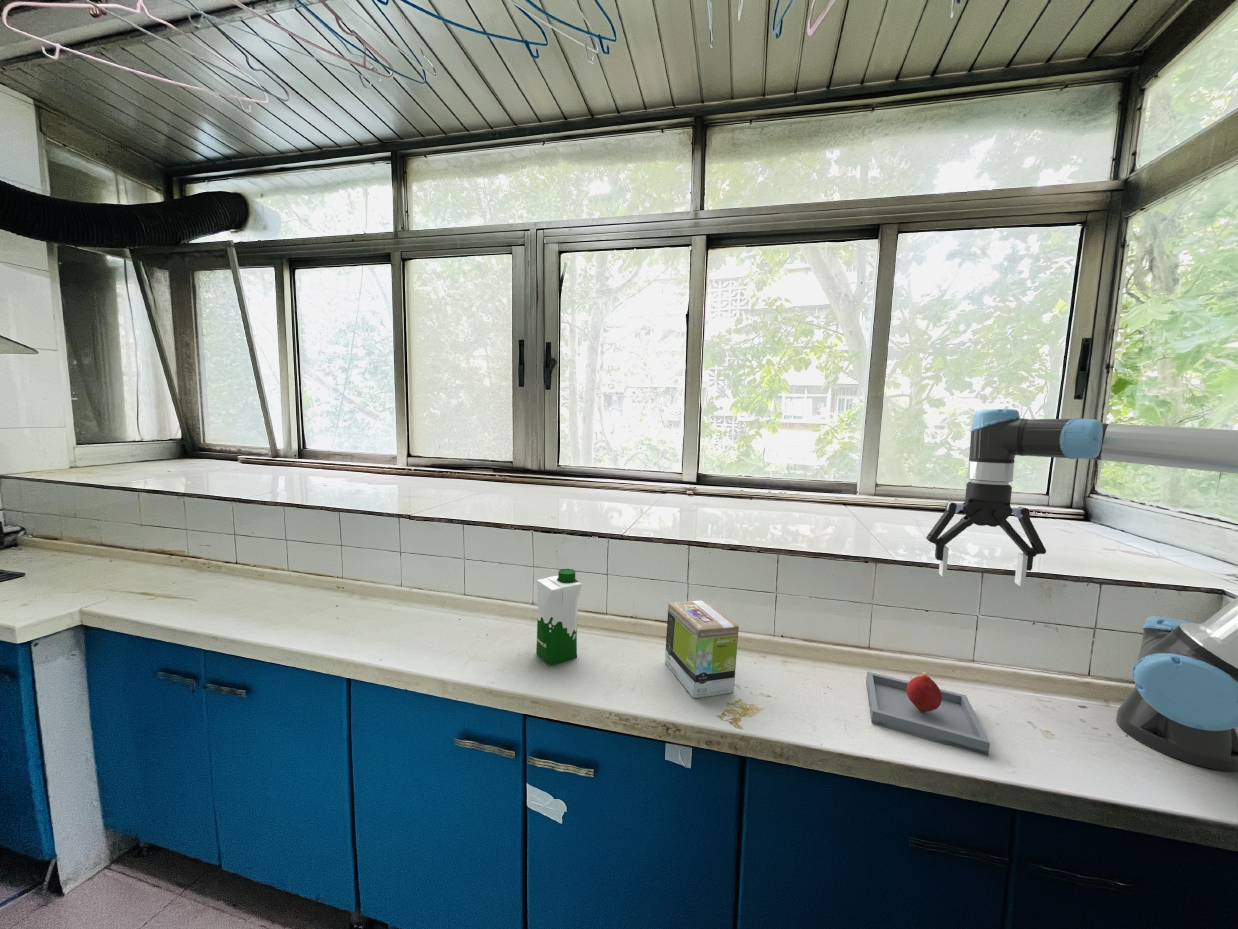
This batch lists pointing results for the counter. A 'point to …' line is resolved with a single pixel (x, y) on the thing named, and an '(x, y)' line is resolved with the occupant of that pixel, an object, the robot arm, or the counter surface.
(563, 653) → the milk carton
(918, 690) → the onion
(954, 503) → the robot arm
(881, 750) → the counter surface
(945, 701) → the tray
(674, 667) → the tea box
